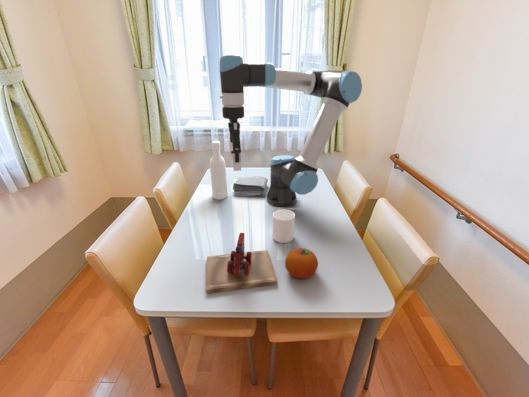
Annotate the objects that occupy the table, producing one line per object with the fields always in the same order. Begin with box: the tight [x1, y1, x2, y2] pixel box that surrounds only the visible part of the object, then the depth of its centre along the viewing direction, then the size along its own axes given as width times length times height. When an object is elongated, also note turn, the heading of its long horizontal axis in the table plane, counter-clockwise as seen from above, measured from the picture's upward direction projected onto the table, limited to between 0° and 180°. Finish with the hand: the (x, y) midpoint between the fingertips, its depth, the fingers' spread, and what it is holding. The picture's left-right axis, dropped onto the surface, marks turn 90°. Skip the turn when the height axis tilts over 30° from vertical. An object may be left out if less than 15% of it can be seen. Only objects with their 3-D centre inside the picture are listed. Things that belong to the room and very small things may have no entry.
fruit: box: [284, 247, 319, 280], centre depth 87 cm, size 11×10×8 cm
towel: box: [232, 175, 268, 197], centre depth 146 cm, size 15×18×8 cm
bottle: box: [209, 140, 229, 200], centre depth 134 cm, size 8×8×30 cm
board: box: [205, 249, 278, 294], centre depth 89 cm, size 22×16×2 cm
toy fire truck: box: [227, 232, 252, 276], centre depth 87 cm, size 7×12×10 cm, turn 175°
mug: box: [272, 208, 296, 244], centre depth 107 cm, size 9×12×11 cm
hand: (235, 164), depth 101 cm, fingers open, 13 cm apart
